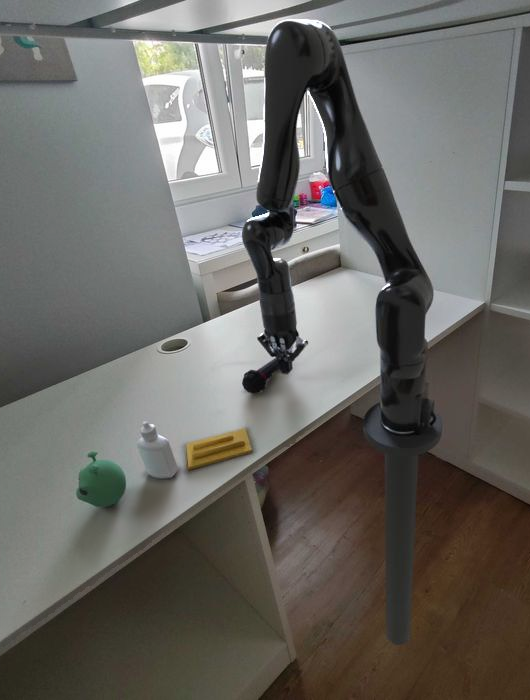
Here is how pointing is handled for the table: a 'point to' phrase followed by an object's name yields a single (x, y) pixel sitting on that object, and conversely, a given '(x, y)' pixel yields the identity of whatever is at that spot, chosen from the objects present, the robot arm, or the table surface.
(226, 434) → the soap dish
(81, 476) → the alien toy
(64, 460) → the table surface
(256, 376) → the microphone
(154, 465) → the eye dropper bottle
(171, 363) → the table surface
